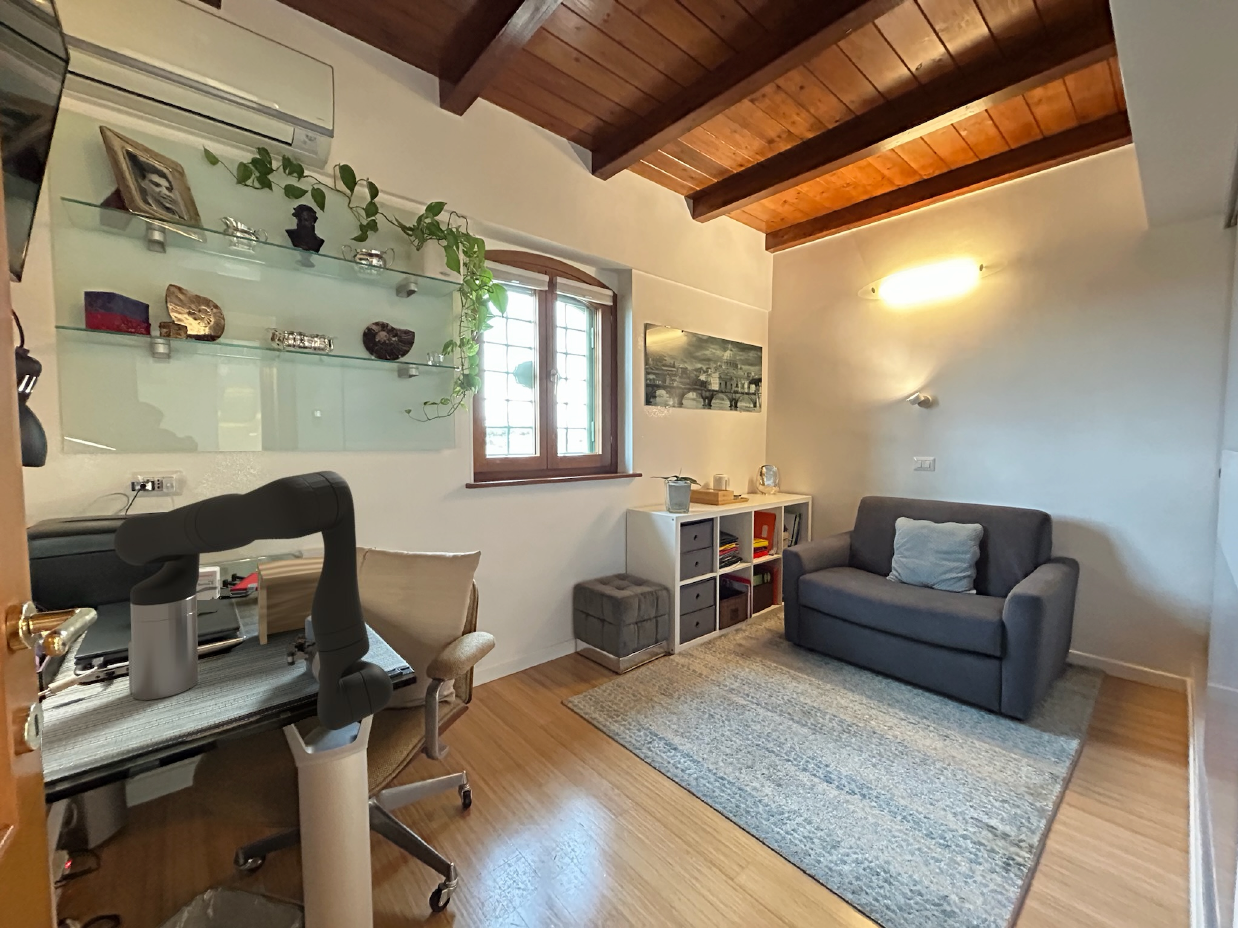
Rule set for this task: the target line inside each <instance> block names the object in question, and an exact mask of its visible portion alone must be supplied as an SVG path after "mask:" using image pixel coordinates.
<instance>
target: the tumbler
mask: <svg viewBox="0 0 1238 928" xmlns="http://www.w3.org/2000/svg"><path fill="white" fill-rule="evenodd" d="M304 629H305V630H304V631H305V634H304V635H305V636H304V637H305V640H308V639H311V638H312V639H315V637H314V632H313V628H312V622H311V615H310V616H308V617H307V618H306V619H305V627H304ZM305 674H306V675H307V676H309V677H314V675H313V672H312V669H311V667H310V664H309V662H308V661H305Z"/></svg>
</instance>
